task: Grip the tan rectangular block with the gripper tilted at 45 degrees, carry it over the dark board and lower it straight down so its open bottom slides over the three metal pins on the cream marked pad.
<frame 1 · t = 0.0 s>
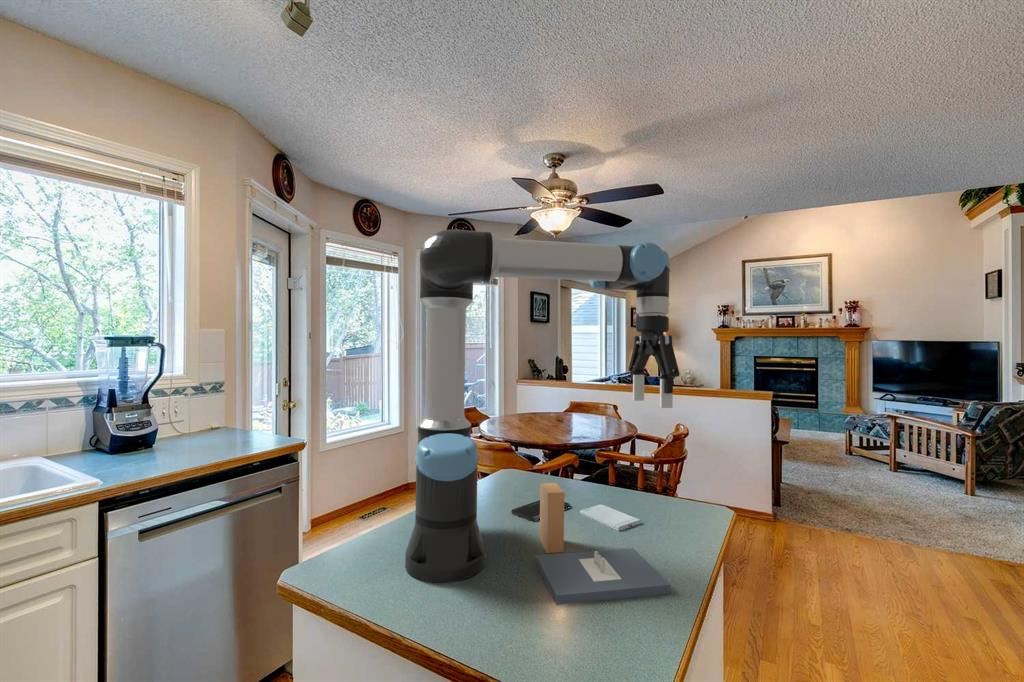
hand: (651, 404, 109), 28 cm above the counter, tool pointing down, fingers open, 13 cm apart
hard drive: (609, 521, 110), on the counter
header board: (599, 577, 82), on the counter
tan rectangular block: (551, 545, 95), on the counter
phone: (541, 512, 115), on the counter
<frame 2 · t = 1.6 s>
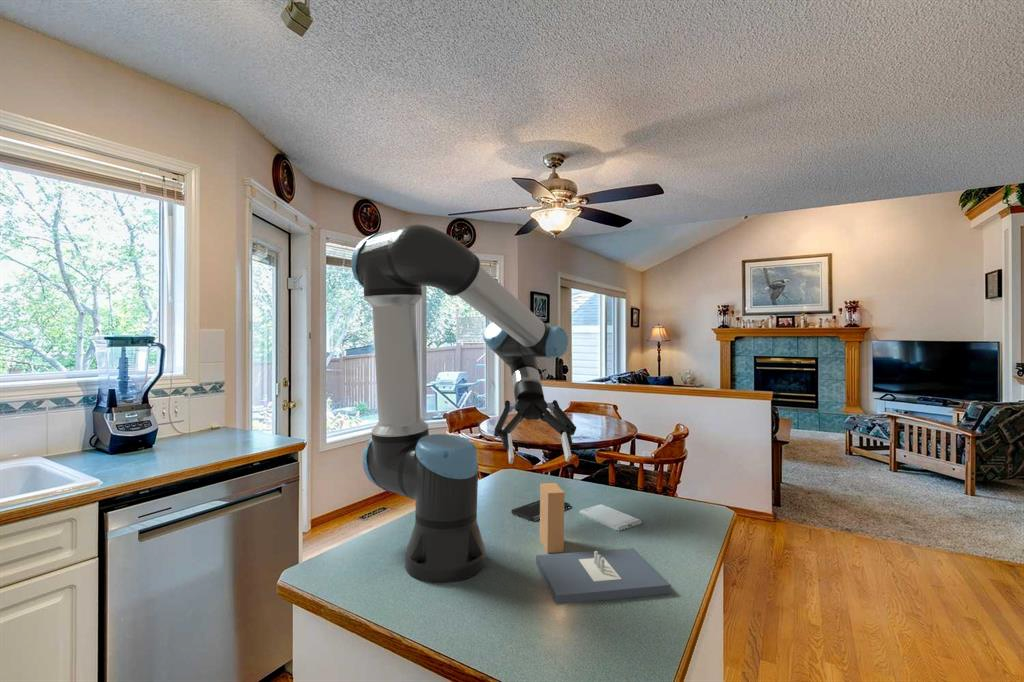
hand: (540, 459, 105), 15 cm above the counter, tool tilted 45°, fingers open, 13 cm apart
nothing on the counter moved.
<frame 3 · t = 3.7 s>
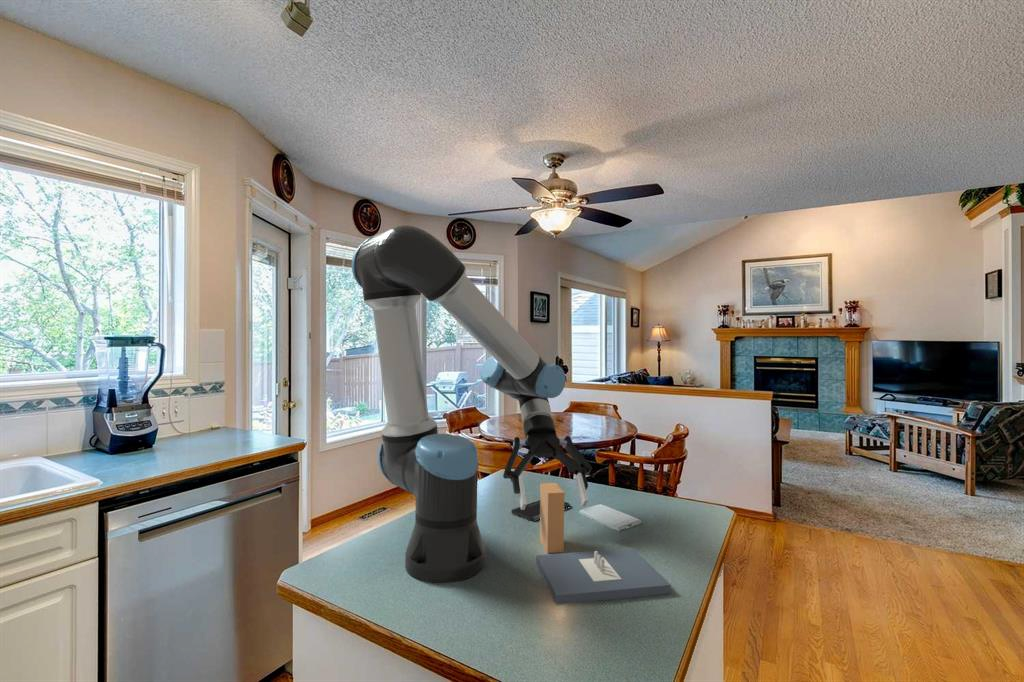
hand: (554, 505, 97), 8 cm above the counter, tool tilted 45°, fingers open, 13 cm apart
nothing on the counter moved.
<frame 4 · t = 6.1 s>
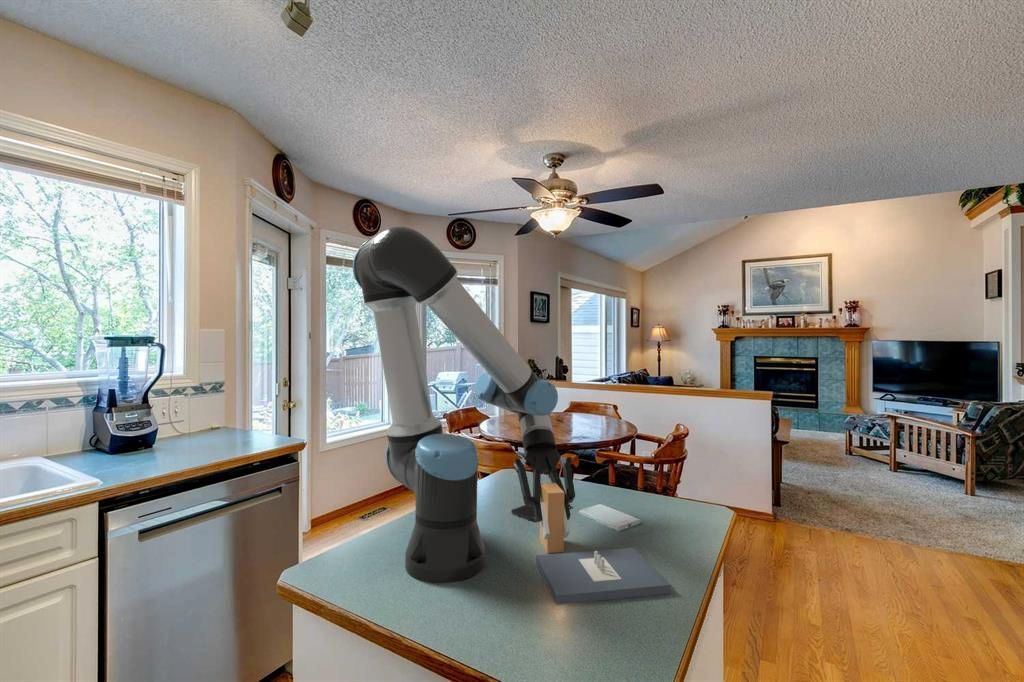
hand: (556, 535, 91), 4 cm above the counter, tool tilted 45°, fingers closed on tan rectangular block, 3 cm apart
tan rectangular block: (551, 545, 95), on the counter, touching gripper
everything else where it was.
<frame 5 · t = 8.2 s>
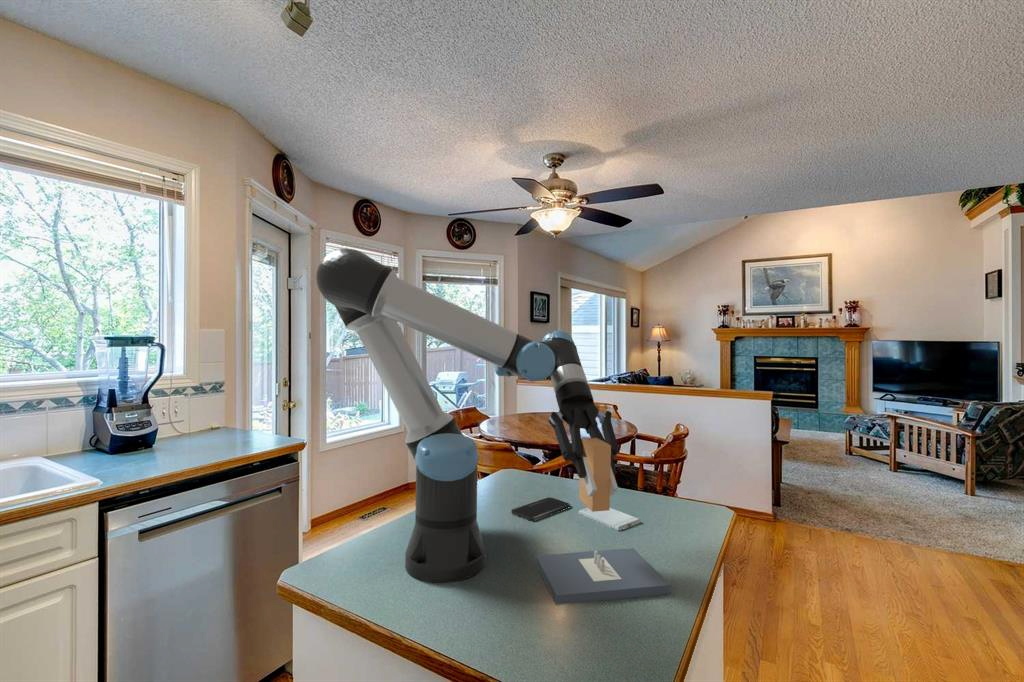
hand: (603, 492, 82), 15 cm above the counter, tool tilted 45°, fingers closed on tan rectangular block, 3 cm apart
tan rectangular block: (593, 504, 86), point 12 cm above the counter, touching gripper
everything else where it was.
when the fingers open (6 cm above the counter, at t = 10.2 s): tan rectangular block stays where it is, resting on header board.
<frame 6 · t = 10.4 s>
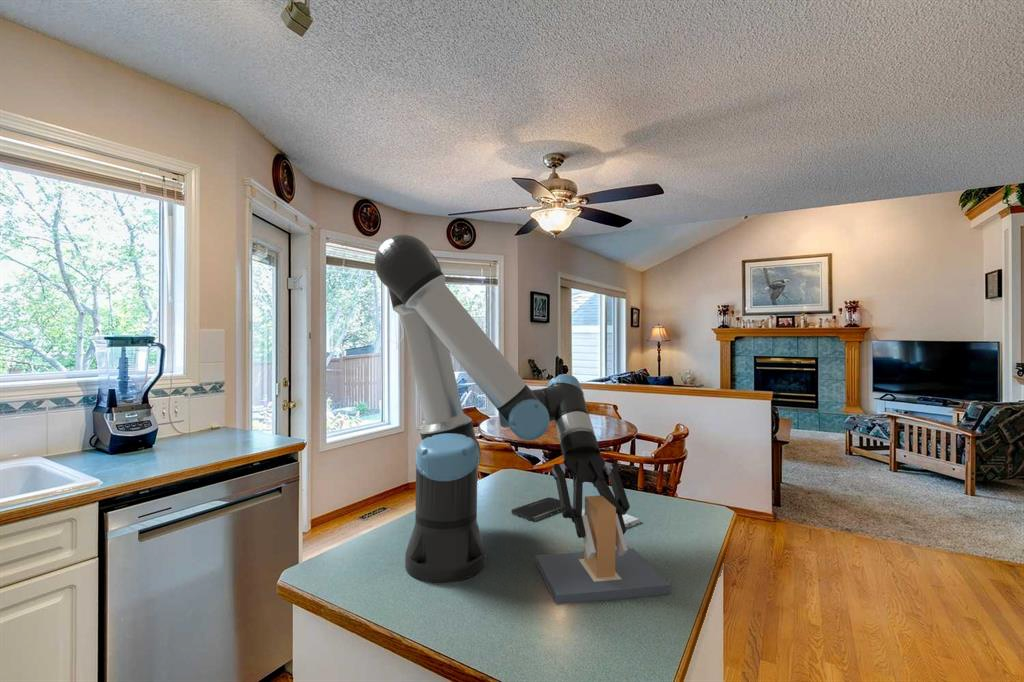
hand: (607, 554, 78), 6 cm above the counter, tool tilted 45°, fingers open, 5 cm apart
tan rectangular block: (599, 568, 82), point 2 cm above the counter, touching header board
everything else where it was.
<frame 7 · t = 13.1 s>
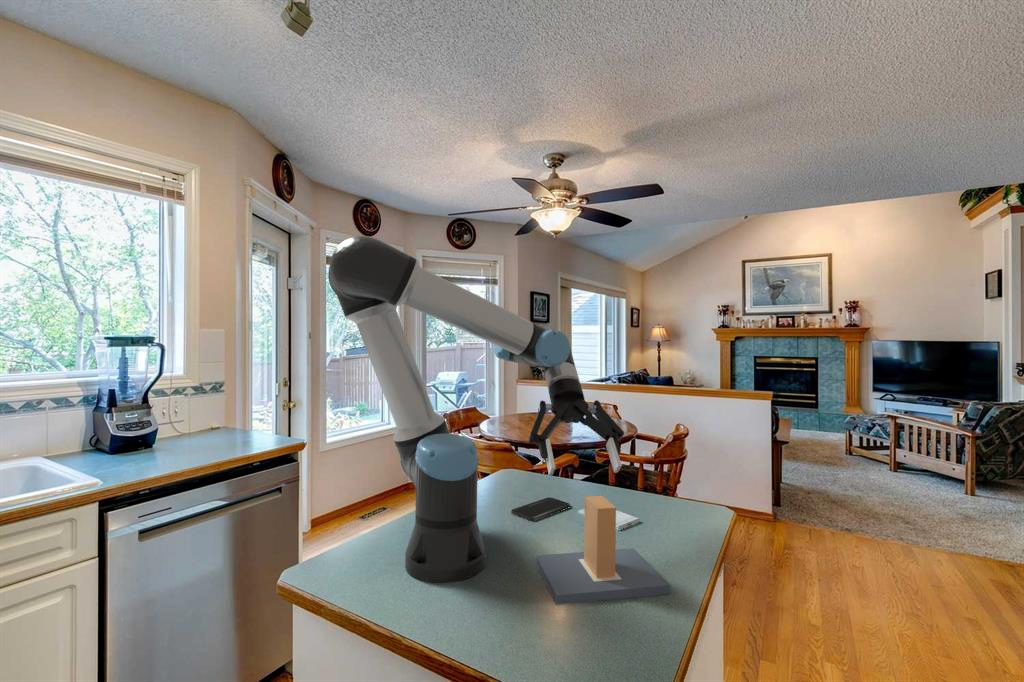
hand: (585, 470, 89), 17 cm above the counter, tool tilted 45°, fingers open, 13 cm apart
nothing on the counter moved.
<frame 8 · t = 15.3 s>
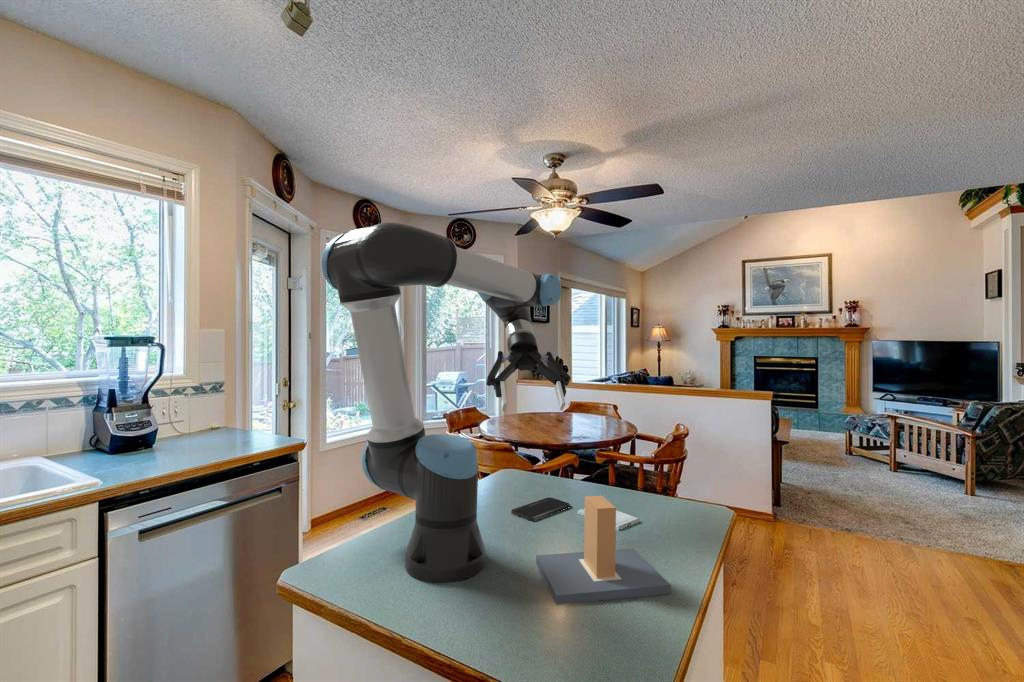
hand: (534, 407, 103), 28 cm above the counter, tool tilted 45°, fingers open, 13 cm apart
nothing on the counter moved.
at the end: tan rectangular block 0.1 cm off-centre on the header board, point 1.6 cm above the header board's base; tan rectangular block tilted 0°; the gripper is holding nothing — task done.
